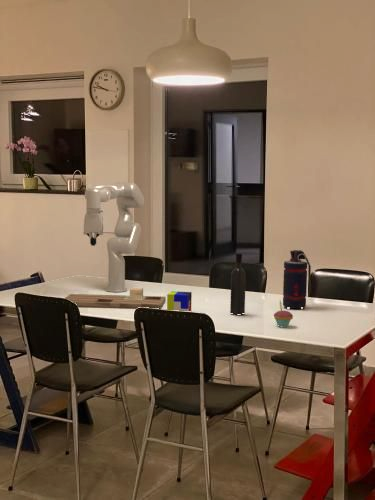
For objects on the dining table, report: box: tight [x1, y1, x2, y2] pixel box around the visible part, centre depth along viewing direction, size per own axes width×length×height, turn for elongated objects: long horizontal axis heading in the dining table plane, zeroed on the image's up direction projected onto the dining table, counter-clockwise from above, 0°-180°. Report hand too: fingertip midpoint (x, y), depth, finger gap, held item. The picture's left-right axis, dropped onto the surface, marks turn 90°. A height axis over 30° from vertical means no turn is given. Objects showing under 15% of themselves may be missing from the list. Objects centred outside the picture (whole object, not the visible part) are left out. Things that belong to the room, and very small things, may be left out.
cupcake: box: [273, 300, 294, 327], centre depth 303 cm, size 9×8×12 cm
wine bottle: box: [229, 252, 247, 314], centre depth 328 cm, size 6×6×30 cm
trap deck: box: [64, 293, 167, 310], centre depth 352 cm, size 24×52×2 cm, turn 86°
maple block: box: [129, 287, 144, 299], centre depth 355 cm, size 6×6×5 cm
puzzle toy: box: [166, 290, 192, 312], centre depth 329 cm, size 10×10×10 cm
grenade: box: [282, 249, 312, 309], centre depth 347 cm, size 14×12×30 cm
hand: (93, 245), depth 364 cm, fingers closed
